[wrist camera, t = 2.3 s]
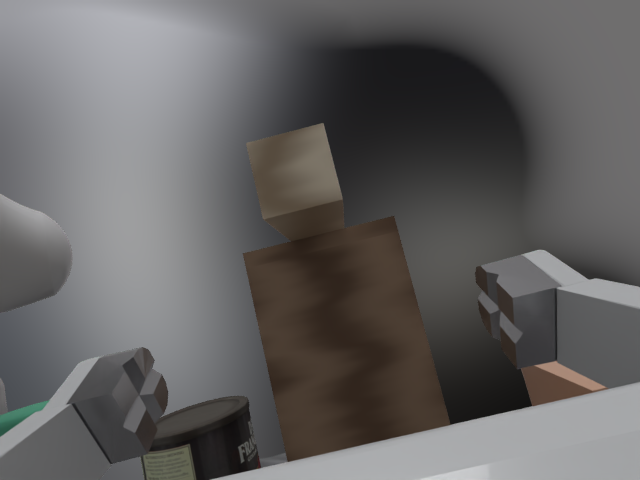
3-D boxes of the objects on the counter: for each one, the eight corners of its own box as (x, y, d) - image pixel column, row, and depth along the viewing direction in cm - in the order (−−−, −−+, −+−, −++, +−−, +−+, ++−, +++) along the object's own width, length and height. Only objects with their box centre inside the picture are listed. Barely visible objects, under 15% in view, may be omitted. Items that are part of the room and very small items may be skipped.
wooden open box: (339, 701, 22) (242, 253, 25) (342, 540, 36) (279, 264, 39) (515, 666, 22) (393, 215, 25) (449, 517, 35) (377, 240, 39)
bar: (263, 219, 17) (246, 143, 17) (307, 254, 36) (299, 217, 36) (342, 199, 17) (323, 122, 17) (345, 245, 35) (336, 208, 36)
